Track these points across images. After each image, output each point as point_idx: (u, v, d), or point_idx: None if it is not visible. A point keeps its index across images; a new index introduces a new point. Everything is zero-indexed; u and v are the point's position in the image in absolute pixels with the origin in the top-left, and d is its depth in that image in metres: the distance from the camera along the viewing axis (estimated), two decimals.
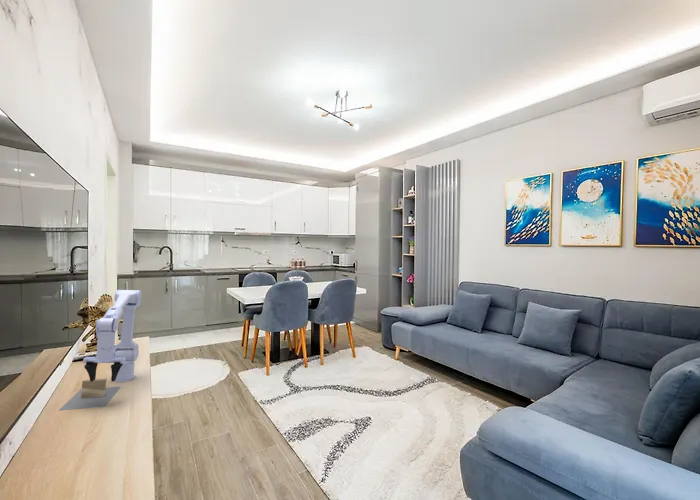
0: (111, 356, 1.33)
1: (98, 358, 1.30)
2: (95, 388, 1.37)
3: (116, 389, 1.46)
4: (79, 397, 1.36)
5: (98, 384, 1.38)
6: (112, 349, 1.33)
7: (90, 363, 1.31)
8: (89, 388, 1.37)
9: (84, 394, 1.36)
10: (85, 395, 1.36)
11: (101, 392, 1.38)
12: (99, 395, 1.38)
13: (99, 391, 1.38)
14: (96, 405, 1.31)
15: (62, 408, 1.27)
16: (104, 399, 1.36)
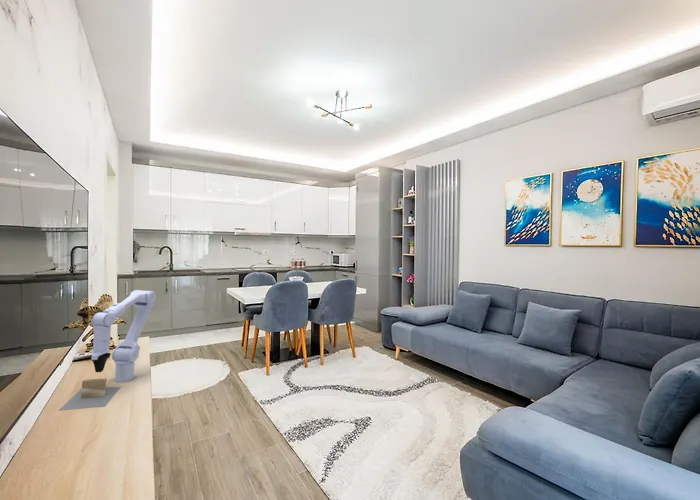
0: (96, 350, 1.40)
1: None
2: (95, 388, 1.37)
3: (116, 389, 1.46)
4: (79, 397, 1.36)
5: (98, 384, 1.38)
6: (98, 343, 1.40)
7: None
8: (89, 388, 1.37)
9: (84, 394, 1.36)
10: (85, 395, 1.36)
11: (101, 392, 1.38)
12: (99, 395, 1.38)
13: (99, 391, 1.38)
14: (96, 405, 1.31)
15: (62, 408, 1.27)
16: (104, 399, 1.36)
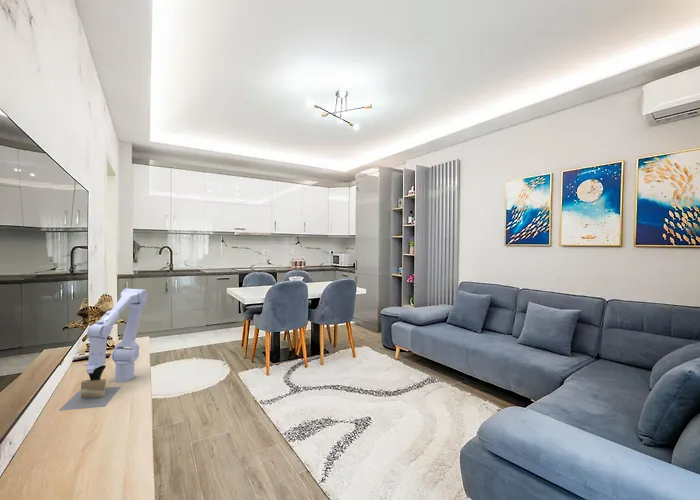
0: (92, 362, 1.36)
1: None
2: (94, 389, 1.37)
3: (116, 389, 1.46)
4: (79, 397, 1.36)
5: (97, 385, 1.37)
6: (93, 356, 1.36)
7: None
8: (88, 389, 1.36)
9: (84, 394, 1.36)
10: (85, 395, 1.36)
11: (101, 392, 1.38)
12: (99, 395, 1.38)
13: (99, 391, 1.38)
14: (96, 405, 1.31)
15: (62, 408, 1.27)
16: (104, 399, 1.36)
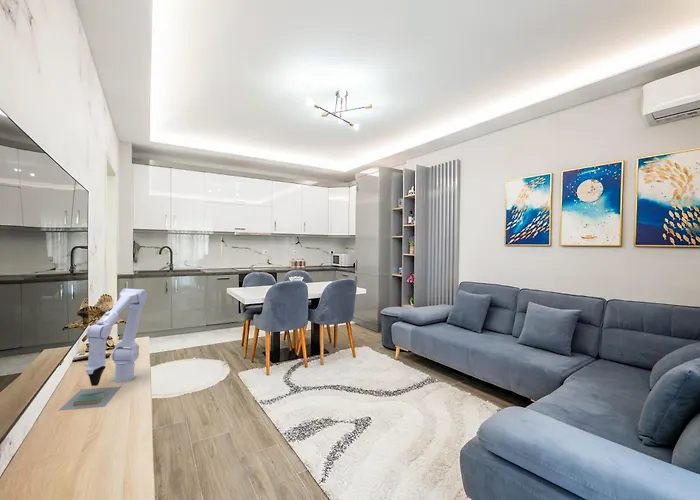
0: (92, 363, 1.36)
1: None
2: None
3: (116, 389, 1.46)
4: None
5: None
6: (93, 356, 1.36)
7: None
8: None
9: None
10: None
11: None
12: None
13: None
14: (96, 405, 1.31)
15: (62, 408, 1.27)
16: (104, 399, 1.36)
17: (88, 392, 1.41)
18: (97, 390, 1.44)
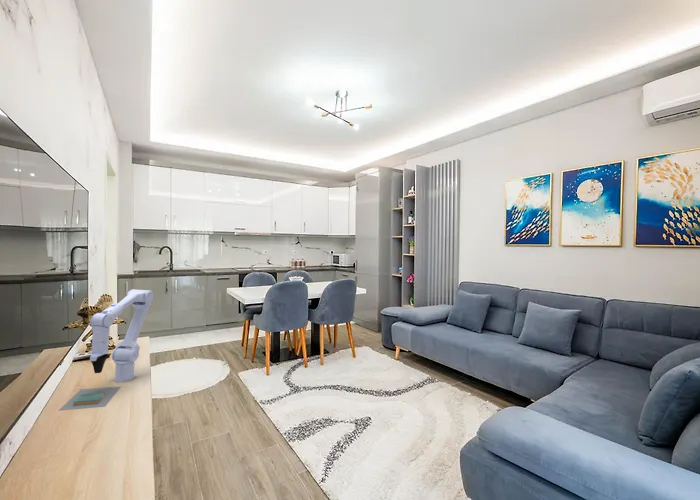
0: (95, 351, 1.39)
1: None
2: None
3: (116, 389, 1.46)
4: None
5: None
6: (96, 344, 1.39)
7: None
8: None
9: None
10: None
11: None
12: None
13: None
14: (96, 405, 1.31)
15: (62, 408, 1.27)
16: (104, 399, 1.36)
17: (88, 392, 1.41)
18: (97, 390, 1.44)
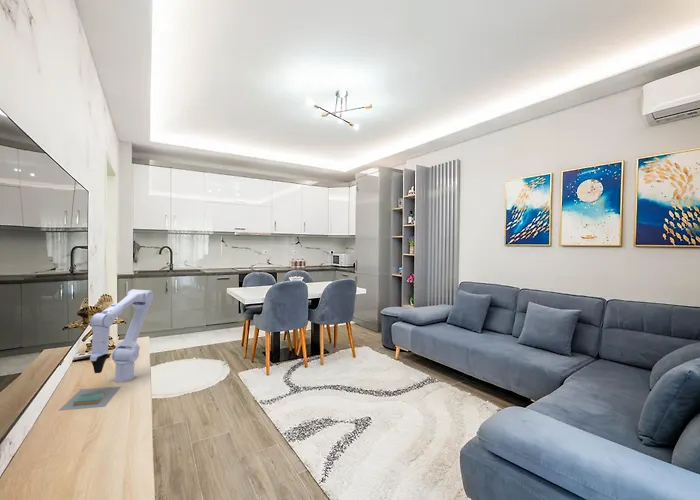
0: (95, 351, 1.39)
1: None
2: None
3: (116, 389, 1.46)
4: None
5: None
6: (96, 344, 1.39)
7: None
8: None
9: None
10: None
11: None
12: None
13: None
14: (96, 405, 1.31)
15: (62, 408, 1.27)
16: (104, 399, 1.36)
17: (88, 392, 1.41)
18: (97, 390, 1.44)
